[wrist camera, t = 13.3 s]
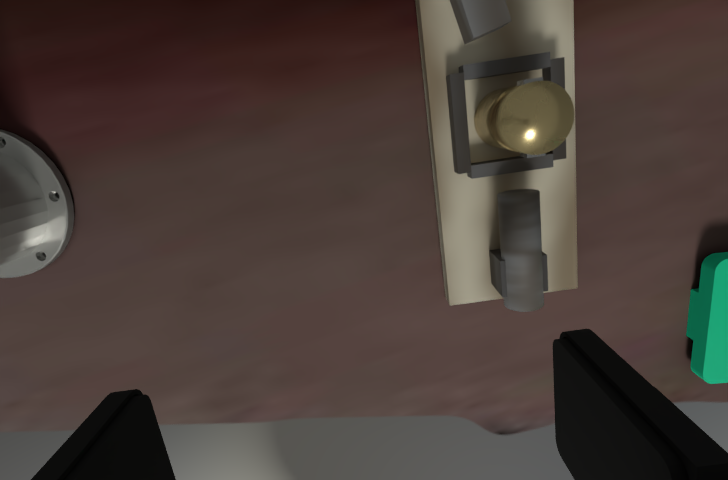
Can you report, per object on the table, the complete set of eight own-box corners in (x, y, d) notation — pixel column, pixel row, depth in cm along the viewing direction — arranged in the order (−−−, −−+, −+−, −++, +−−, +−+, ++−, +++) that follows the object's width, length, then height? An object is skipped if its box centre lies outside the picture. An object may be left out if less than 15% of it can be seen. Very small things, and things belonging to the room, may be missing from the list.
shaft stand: (445, 296, 40) (460, 326, 34) (406, -84, 32) (417, -129, 26) (566, 279, 39) (602, 307, 34) (558, -108, 32) (603, -159, 26)
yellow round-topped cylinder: (471, 90, 33) (500, 83, 26) (530, 81, 33) (573, 71, 26) (476, 154, 34) (505, 162, 28) (532, 145, 34) (574, 152, 28)
